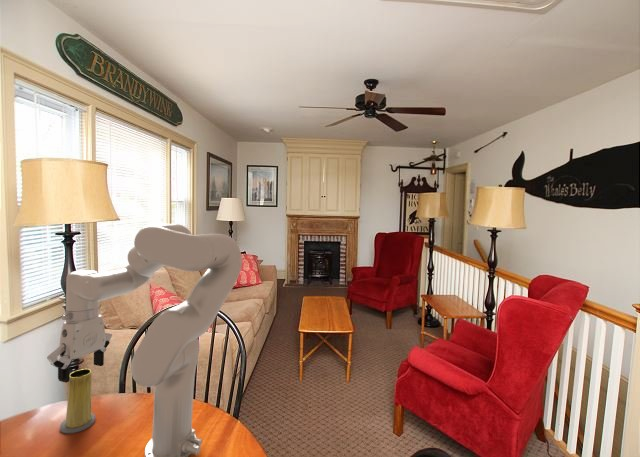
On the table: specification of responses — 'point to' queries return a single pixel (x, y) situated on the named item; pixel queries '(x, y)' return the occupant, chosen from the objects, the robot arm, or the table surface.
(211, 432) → the table surface
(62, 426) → the coaster
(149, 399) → the table surface
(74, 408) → the vase
